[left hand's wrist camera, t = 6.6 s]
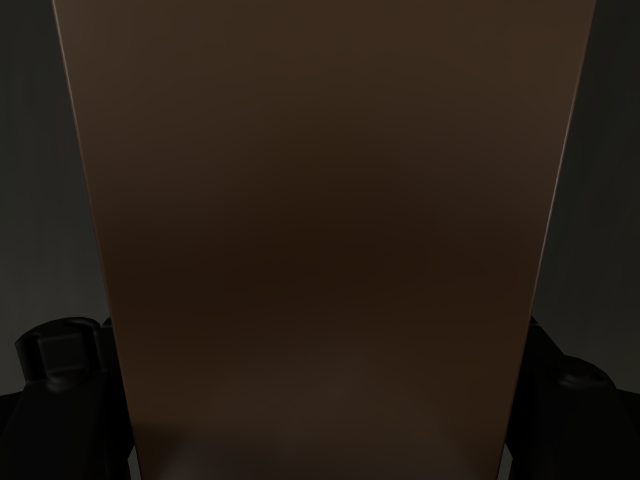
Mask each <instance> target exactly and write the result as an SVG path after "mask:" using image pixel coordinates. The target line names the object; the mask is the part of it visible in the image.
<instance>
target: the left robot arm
mask: <svg viewBox="0 0 640 480" xmlns="http://www.w3.org/2000/svg"><path fill="white" fill-rule="evenodd" d="M15 346H16V349H17V353H18V356H19V360H20V363H21V367H22V370H23V374H24V377H25V381H26V385H25V387H24V390H23V391H21V392H17V393H13V394H8V395H3V396H0V480H131V476H130V469H129V464H128V457H129V455H130V453H131V451H132V449H133V447H134V445H135V443H134V438H133V433H132V427H131V422H130V417H129V411H128V406H127V401H126V396H125V390H124V385H123V380H122V374H121V369H120V364H119V359H118V353H117V348H116V343H115V337H114V332H113V327H112V322H111V316H110V318H107V320H106V321H105V322H104V323H103V324H102V328H101V327H100V324H99V323H98V322H96V321H95V320H94V319H90V318H85V317H67V318H62V319H58V320H53V321H50V322H47V323H44V324H42V325H39V326H36V327H34V328H33V329H31V330H29V331H28V332H26V333H24V334H23V335H22V336H21V337H20V338H19V339H18V340H17V341H16V342H15ZM505 443H506V445H507V447H508V449H509V451H510V453H511V455H512V457H513V459H512V464H511V469H510V474H509V479H508V480H640V394H638V393H633V392H628V391H623V390H619V389H616V387H615V385H614V383H613V381H612V380H611V379H610V378H609V376H608V375H607V374H606V373H605V372H603V371H602V370H601V369H599V368H598V367H596V366H595V365H593V364H591V363H588V362H586V361H584V360H582V359H579V358H575V357H571V356H567V355H564V354H563V353H562V352H561V350H560V349H559V348H558V347H557V346H556V344H555V343H554V342H553V341H552V340H551V338H550V337H549V336H548V335H547V334H546V332H545V331H544V330H543V329H542V328H541V326H538V323H537V322H536V320H535V319H534V318H533V317H532V316H531V319H530V324H529V329H528V333H527V338H526V343H525V348H524V353H523V358H522V362H521V367H520V372H519V377H518V382H517V386H516V391H515V396H514V401H513V406H512V411H511V415H510V420H509V425H508V430H507V435H506V439H505Z"/></svg>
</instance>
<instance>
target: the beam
mask: <svg viewBox="0 0 640 480" xmlns="http://www.w3.org/2000/svg"><path fill="white" fill-rule="evenodd" d="M596 1H597V0H51V4H52V10H53V15H54V20H55V26H56V31H57V36H58V41H59V47H60V52H61V57H62V63H63V68H64V73H65V78H66V84H67V89H68V94H69V100H70V105H71V110H72V115H73V121H74V126H75V131H76V137H77V142H78V147H79V152H80V158H81V163H82V168H83V174H84V179H85V184H86V189H87V195H88V200H89V205H90V211H91V216H92V221H93V226H94V232H95V237H96V242H97V248H98V253H99V258H100V263H101V269H102V274H103V279H104V285H105V290H106V295H107V300H108V306H109V311H110V316H111V322H112V327H113V332H114V337H115V343H116V348H117V353H118V359H119V364H120V369H121V374H122V380H123V385H124V390H125V396H126V401H127V406H128V411H129V417H130V422H131V427H132V433H133V438H134V443H135V448H136V454H137V459H138V464H139V470H140V475H141V480H497V478H498V473H499V468H500V464H501V459H502V454H503V449H504V444H505V439H506V435H507V430H508V425H509V420H510V415H511V411H512V406H513V401H514V396H515V391H516V386H517V382H518V377H519V372H520V367H521V362H522V358H523V353H524V348H525V343H526V338H527V333H528V329H529V324H530V319H531V314H532V309H533V305H534V300H535V295H536V290H537V285H538V280H539V276H540V271H541V266H542V261H543V256H544V252H545V247H546V242H547V237H548V232H549V227H550V223H551V218H552V213H553V208H554V203H555V199H556V194H557V189H558V184H559V179H560V174H561V170H562V165H563V160H564V155H565V150H566V146H567V141H568V136H569V131H570V126H571V121H572V117H573V112H574V107H575V102H576V97H577V93H578V88H579V83H580V78H581V73H582V68H583V64H584V59H585V54H586V49H587V44H588V40H589V35H590V30H591V25H592V20H593V15H594V11H595V6H596Z"/></svg>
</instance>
